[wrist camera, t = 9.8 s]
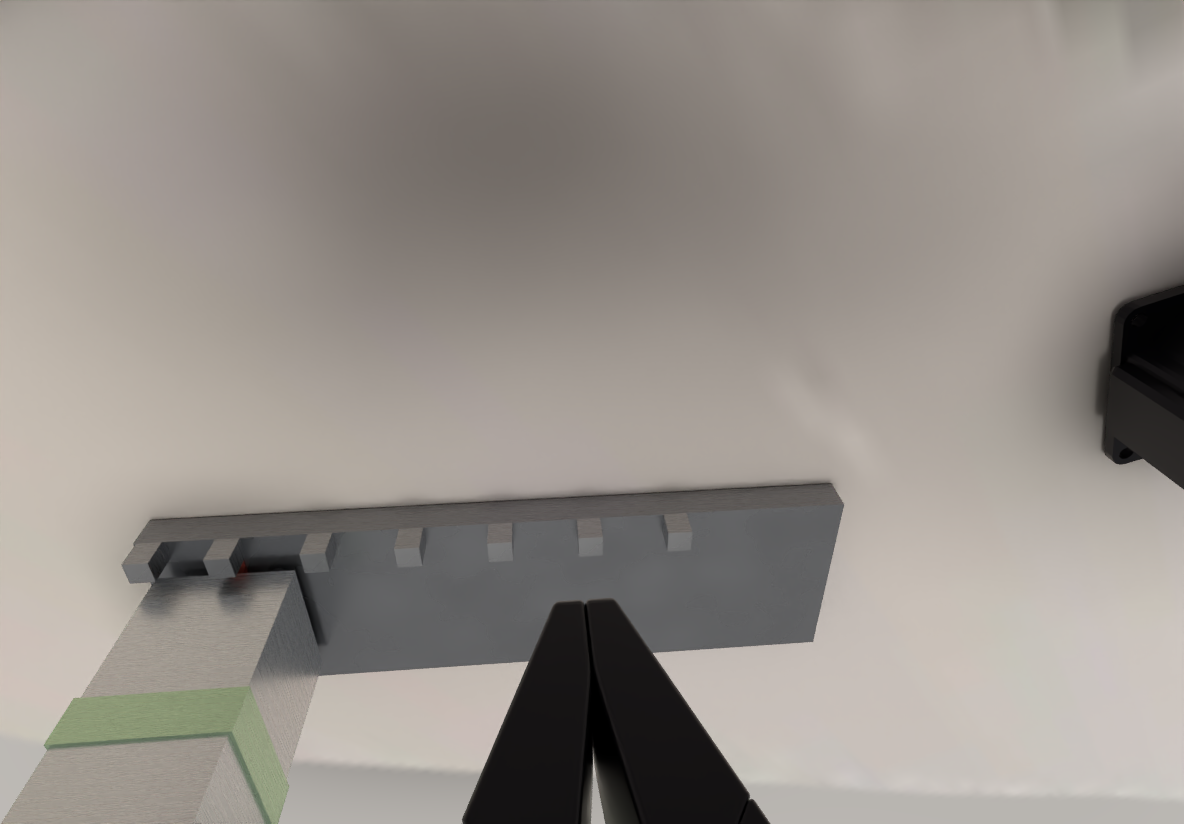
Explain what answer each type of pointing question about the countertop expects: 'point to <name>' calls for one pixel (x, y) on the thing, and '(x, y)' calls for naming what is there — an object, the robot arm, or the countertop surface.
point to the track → (525, 570)
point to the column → (186, 711)
